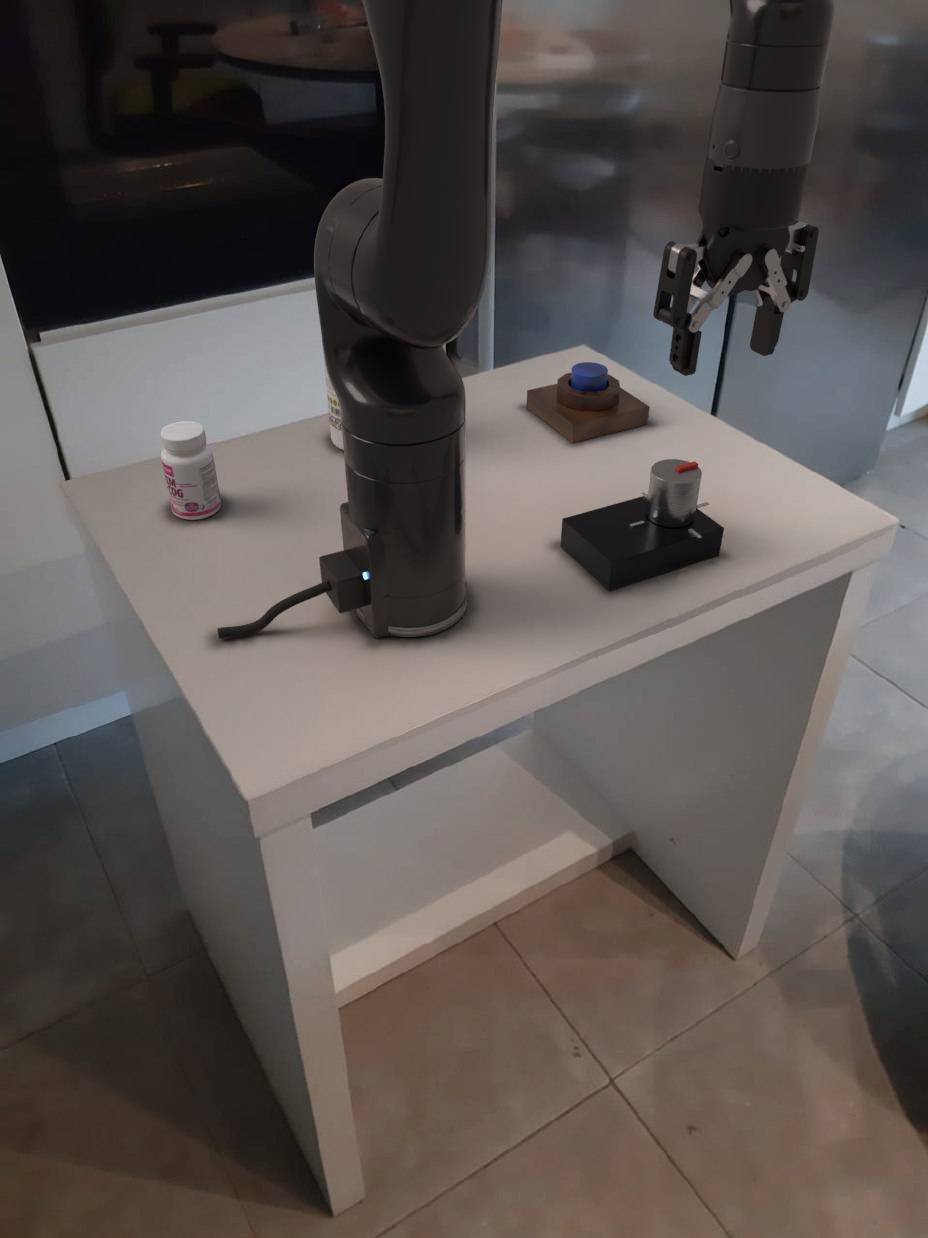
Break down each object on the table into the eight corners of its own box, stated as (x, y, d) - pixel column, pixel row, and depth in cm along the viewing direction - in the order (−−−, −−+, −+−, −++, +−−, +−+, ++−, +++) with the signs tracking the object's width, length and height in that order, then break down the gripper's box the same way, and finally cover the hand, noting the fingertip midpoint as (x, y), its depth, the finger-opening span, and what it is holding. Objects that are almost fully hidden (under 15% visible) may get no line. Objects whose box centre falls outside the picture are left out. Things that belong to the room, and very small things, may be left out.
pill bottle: (162, 516, 94) (145, 437, 89) (188, 493, 98) (173, 415, 93) (206, 524, 93) (191, 444, 88) (230, 500, 97) (217, 422, 92)
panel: (610, 593, 84) (614, 562, 82) (558, 544, 90) (560, 515, 89) (732, 554, 89) (738, 524, 87) (675, 510, 95) (679, 482, 93)
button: (583, 396, 108) (584, 378, 106) (563, 383, 111) (564, 365, 109) (613, 389, 109) (615, 372, 108) (593, 376, 112) (595, 359, 111)
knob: (664, 532, 86) (671, 484, 84) (635, 509, 90) (641, 462, 87) (704, 520, 88) (712, 472, 85) (674, 498, 91) (681, 451, 88)
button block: (572, 443, 107) (574, 409, 104) (526, 407, 114) (527, 375, 111) (647, 424, 110) (651, 391, 108) (598, 391, 117) (601, 359, 115)
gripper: (792, 133, 78) (755, 332, 88) (650, 152, 72) (626, 362, 82) (866, 152, 73) (817, 361, 82) (718, 173, 67) (685, 396, 77)
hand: (722, 362), depth 82 cm, fingers open, 8 cm apart
